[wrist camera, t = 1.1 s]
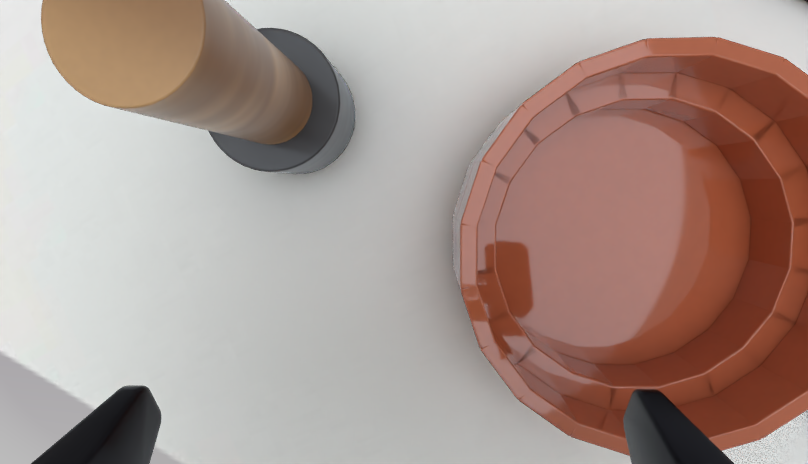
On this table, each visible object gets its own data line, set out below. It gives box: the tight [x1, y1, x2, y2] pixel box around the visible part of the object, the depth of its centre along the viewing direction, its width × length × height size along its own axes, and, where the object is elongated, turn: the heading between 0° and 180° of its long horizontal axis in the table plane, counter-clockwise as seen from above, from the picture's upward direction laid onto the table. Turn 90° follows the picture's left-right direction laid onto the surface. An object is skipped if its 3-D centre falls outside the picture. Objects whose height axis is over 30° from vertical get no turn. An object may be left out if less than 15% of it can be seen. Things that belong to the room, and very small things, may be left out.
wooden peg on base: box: [41, 0, 355, 174], centre depth 16 cm, size 5×5×13 cm
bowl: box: [453, 37, 808, 456], centre depth 20 cm, size 14×14×6 cm
